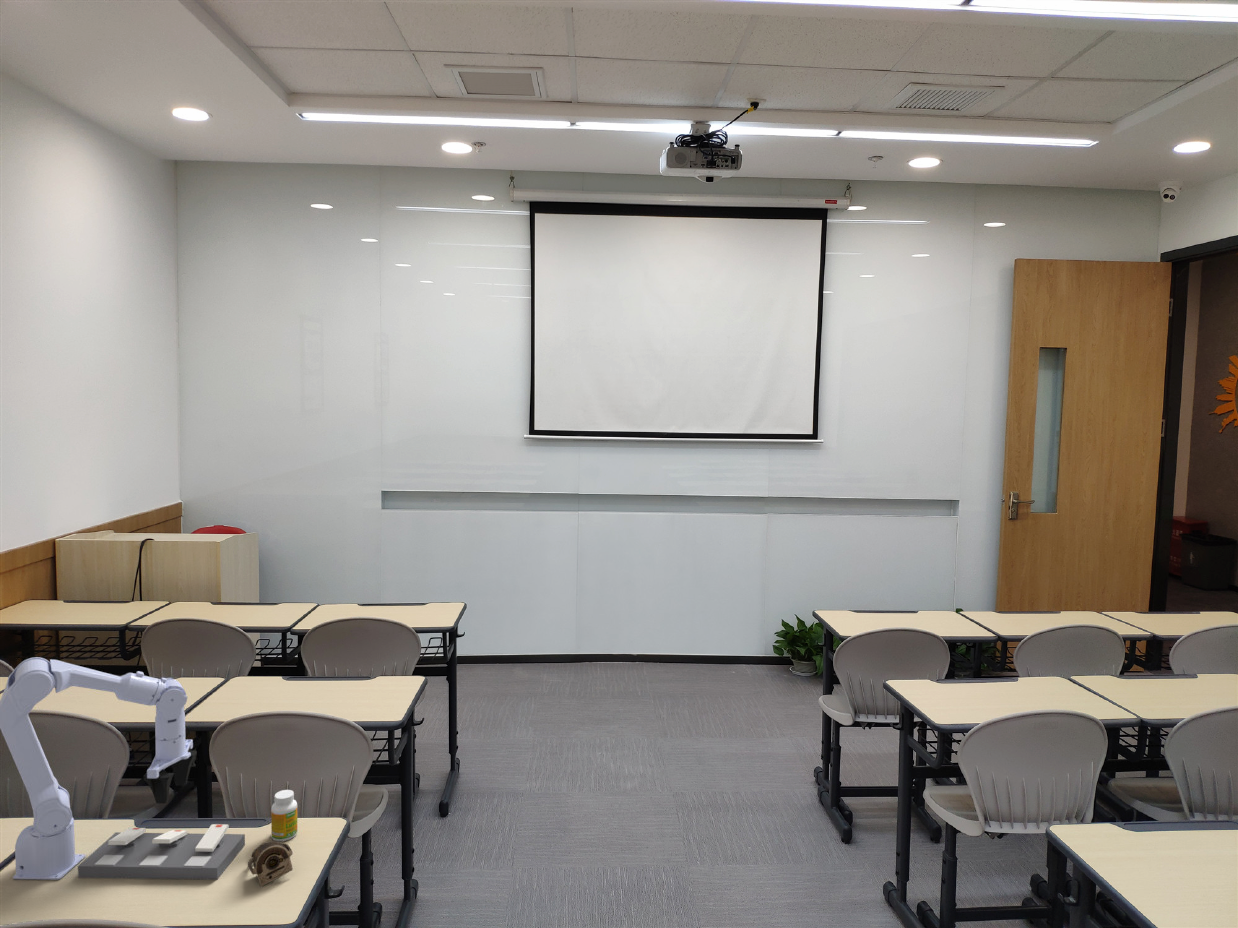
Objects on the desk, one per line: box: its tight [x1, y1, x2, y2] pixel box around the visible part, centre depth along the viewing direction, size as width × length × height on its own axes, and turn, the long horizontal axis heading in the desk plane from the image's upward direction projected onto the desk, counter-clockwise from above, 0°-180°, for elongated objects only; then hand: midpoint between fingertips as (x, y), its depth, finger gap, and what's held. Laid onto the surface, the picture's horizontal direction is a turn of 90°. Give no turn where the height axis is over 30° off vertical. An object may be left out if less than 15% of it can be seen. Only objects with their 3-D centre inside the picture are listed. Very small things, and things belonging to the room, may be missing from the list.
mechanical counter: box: [247, 840, 294, 887], centre depth 158 cm, size 7×13×10 cm
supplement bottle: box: [270, 789, 298, 842], centre depth 170 cm, size 5×5×10 cm
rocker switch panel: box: [77, 831, 246, 881], centre depth 160 cm, size 28×12×3 cm, turn 92°
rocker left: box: [108, 827, 147, 845], centre depth 161 cm, size 4×7×1 cm, turn 1°
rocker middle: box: [152, 829, 188, 843], centre depth 162 cm, size 4×7×1 cm, turn 1°
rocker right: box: [195, 823, 230, 852], centre depth 162 cm, size 4×7×1 cm, turn 2°
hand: (171, 793), depth 169 cm, fingers open, 7 cm apart
